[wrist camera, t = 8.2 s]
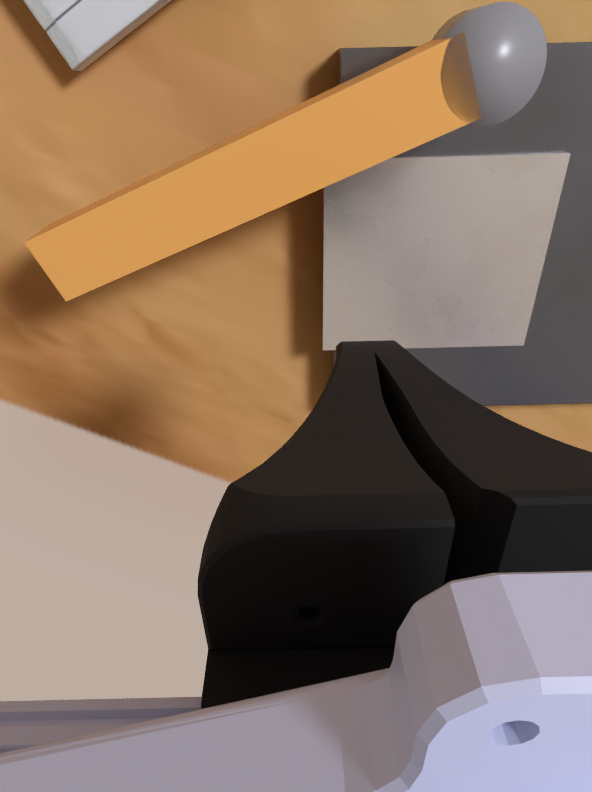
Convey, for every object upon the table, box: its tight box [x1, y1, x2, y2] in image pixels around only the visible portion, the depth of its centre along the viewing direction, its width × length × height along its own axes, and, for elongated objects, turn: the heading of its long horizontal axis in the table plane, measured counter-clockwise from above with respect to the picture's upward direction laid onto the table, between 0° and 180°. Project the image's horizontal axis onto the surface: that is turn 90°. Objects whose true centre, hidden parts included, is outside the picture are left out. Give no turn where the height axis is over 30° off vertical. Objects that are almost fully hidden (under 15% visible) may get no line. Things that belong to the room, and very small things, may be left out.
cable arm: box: [24, 2, 547, 301], centre depth 15 cm, size 15×3×2 cm, turn 113°
